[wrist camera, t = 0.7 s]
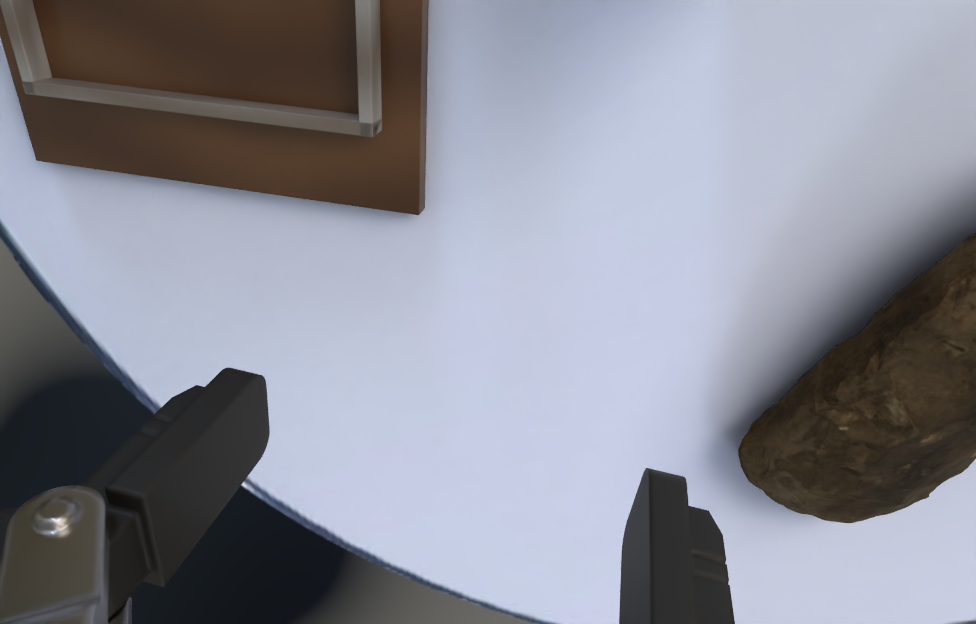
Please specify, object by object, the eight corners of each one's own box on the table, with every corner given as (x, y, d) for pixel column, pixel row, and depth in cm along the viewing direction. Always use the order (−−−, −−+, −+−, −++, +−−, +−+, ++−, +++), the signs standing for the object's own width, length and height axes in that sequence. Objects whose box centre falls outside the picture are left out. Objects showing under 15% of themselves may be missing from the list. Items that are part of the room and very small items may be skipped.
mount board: (-44, -182, 33) (-95, -192, 31) (431, -156, 30) (414, -166, 27) (50, 156, 42) (16, 167, 40) (425, 208, 39) (411, 224, 36)
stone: (711, 448, 43) (721, 512, 38) (1081, 88, 29) (1173, 115, 24) (843, 523, 43) (870, 596, 38) (1265, 206, 30) (1391, 256, 25)
